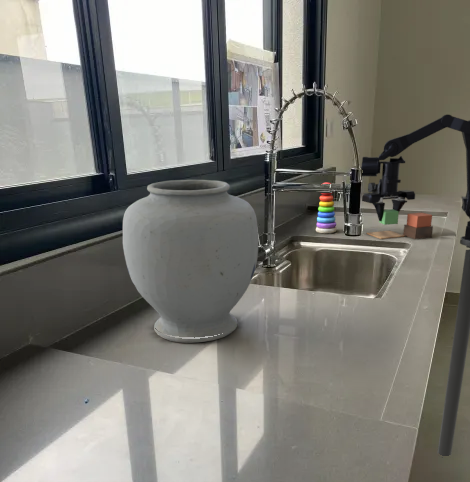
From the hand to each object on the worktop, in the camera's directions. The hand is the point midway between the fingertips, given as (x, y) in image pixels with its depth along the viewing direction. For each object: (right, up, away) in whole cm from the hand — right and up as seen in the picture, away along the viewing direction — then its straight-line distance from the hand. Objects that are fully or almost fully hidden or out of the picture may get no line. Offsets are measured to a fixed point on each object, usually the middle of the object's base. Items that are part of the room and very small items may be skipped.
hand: (386, 220), depth 182 cm
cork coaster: (0, -5, +2) cm, 6 cm away
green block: (0, -1, -1) cm, 1 cm away
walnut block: (+11, -6, -1) cm, 12 cm away
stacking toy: (-20, -3, +10) cm, 23 cm away
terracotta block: (+11, -2, -3) cm, 11 cm away
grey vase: (-64, -37, -76) cm, 106 cm away
